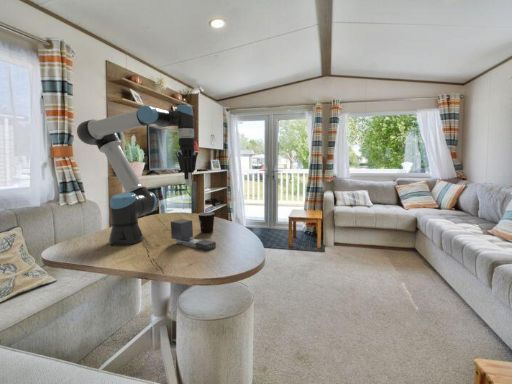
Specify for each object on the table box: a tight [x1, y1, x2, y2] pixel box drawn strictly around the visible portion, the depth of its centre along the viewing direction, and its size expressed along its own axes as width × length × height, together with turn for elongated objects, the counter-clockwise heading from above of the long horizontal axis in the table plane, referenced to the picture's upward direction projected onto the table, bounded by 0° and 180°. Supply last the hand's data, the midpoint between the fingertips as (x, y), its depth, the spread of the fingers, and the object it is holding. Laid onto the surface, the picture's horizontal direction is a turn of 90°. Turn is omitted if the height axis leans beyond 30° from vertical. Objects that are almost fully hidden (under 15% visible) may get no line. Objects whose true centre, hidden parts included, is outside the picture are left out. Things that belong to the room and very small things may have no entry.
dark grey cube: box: [170, 218, 194, 240], centre depth 137 cm, size 7×7×8 cm
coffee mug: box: [197, 212, 215, 234], centre depth 158 cm, size 12×9×10 cm
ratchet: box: [175, 237, 217, 252], centre depth 133 cm, size 22×6×6 cm, turn 56°
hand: (188, 185), depth 144 cm, fingers closed
